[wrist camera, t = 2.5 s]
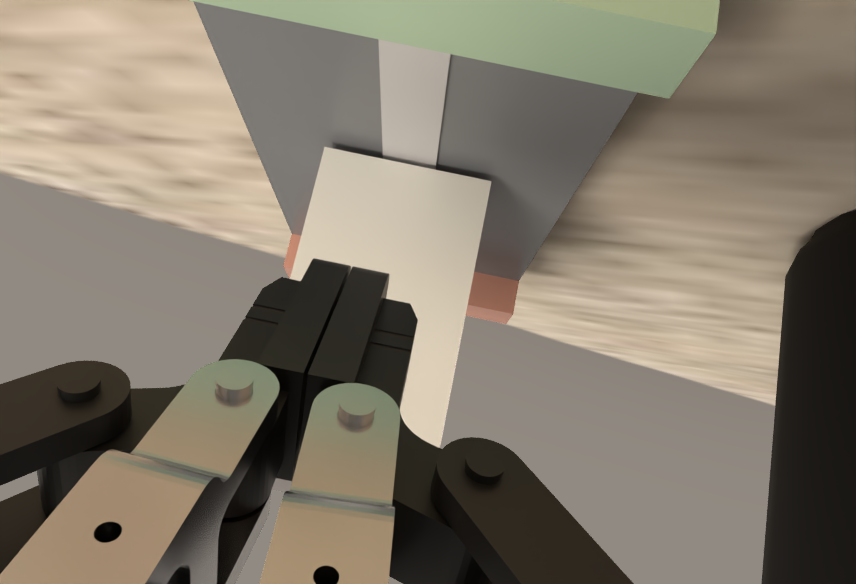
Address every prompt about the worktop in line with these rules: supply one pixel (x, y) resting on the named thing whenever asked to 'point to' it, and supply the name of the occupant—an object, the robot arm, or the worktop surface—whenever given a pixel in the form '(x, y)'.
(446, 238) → the handle
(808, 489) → the coffee jar
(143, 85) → the worktop surface
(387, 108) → the plate
